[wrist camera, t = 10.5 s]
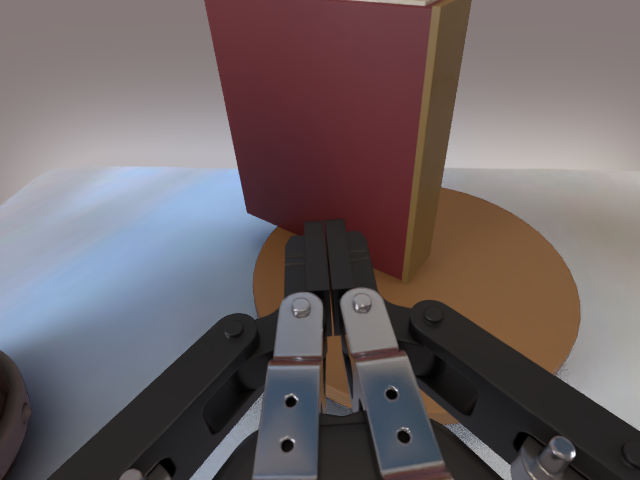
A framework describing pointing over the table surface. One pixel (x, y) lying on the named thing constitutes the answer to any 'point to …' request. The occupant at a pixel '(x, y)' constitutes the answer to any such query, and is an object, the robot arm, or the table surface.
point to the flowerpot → (11, 413)
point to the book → (379, 165)
